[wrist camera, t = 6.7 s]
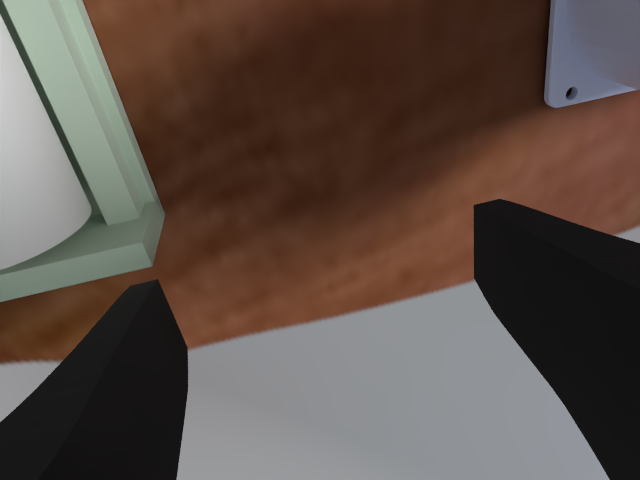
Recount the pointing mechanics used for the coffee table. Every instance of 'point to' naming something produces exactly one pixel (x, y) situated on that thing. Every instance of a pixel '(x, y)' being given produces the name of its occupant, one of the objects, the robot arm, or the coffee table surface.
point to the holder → (84, 151)
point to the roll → (32, 169)
